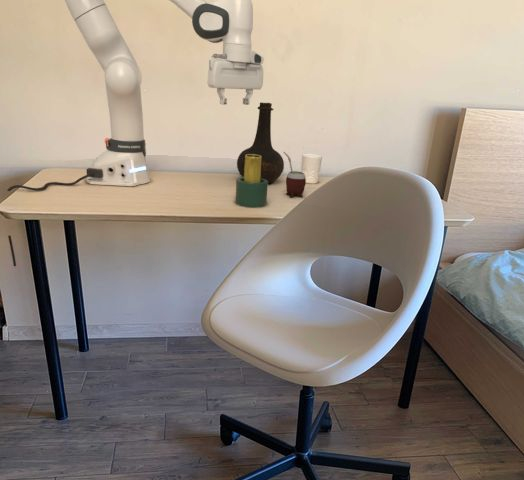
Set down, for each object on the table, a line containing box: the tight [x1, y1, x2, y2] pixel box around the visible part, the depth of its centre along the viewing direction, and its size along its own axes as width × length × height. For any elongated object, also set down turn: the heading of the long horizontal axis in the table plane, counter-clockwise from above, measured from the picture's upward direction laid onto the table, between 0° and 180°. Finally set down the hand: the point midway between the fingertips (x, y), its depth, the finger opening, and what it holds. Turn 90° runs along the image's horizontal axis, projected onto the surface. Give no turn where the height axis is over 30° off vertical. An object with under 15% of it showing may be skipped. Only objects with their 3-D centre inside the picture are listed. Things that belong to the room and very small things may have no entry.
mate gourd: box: [283, 151, 307, 199], centre depth 178 cm, size 8×8×15 cm
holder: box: [235, 176, 269, 208], centre depth 168 cm, size 10×10×8 cm
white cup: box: [300, 153, 323, 185], centre depth 202 cm, size 8×8×10 cm
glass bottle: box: [236, 102, 285, 185], centre depth 192 cm, size 18×18×28 cm
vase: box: [244, 154, 261, 183], centre depth 166 cm, size 6×6×14 cm
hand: (234, 104), depth 165 cm, fingers open, 8 cm apart
